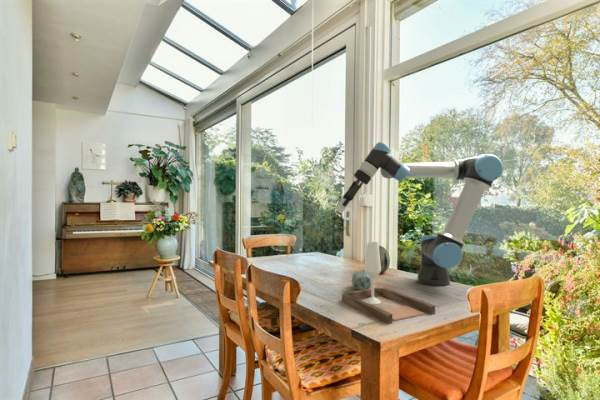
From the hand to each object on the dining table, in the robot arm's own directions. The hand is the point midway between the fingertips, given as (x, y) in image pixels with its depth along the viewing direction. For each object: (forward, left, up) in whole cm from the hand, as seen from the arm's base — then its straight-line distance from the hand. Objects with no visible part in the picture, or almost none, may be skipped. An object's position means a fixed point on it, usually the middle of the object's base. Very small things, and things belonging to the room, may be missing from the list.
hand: (337, 211), depth 162 cm
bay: (-2, +30, -36) cm, 47 cm away
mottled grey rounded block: (-9, +5, -36) cm, 38 cm away
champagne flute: (-2, +22, -36) cm, 42 cm away
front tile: (-2, +38, -36) cm, 52 cm away
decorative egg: (-37, -17, -36) cm, 55 cm away
